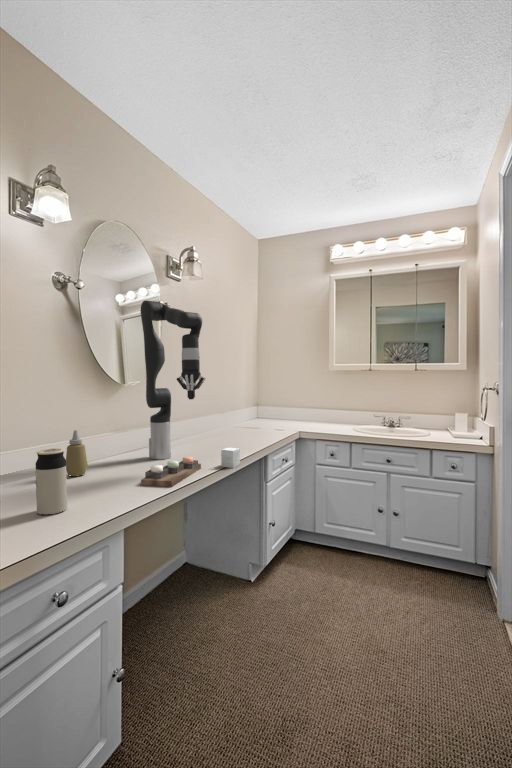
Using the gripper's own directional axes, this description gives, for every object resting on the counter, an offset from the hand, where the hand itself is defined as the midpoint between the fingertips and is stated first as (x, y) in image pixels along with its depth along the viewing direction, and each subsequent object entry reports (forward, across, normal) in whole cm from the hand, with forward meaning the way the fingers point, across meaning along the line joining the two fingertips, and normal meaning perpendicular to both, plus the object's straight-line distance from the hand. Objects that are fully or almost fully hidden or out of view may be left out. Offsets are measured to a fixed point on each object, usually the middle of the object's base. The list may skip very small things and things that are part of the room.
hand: (191, 399), depth 172 cm
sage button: (+26, -1, -17) cm, 31 cm away
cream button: (+26, -4, -25) cm, 37 cm away
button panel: (+29, -1, -17) cm, 34 cm away
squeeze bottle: (+29, -40, -23) cm, 55 cm away
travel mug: (+29, -19, -61) cm, 70 cm away
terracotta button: (+26, +2, -9) cm, 28 cm away
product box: (+29, +16, +4) cm, 34 cm away
